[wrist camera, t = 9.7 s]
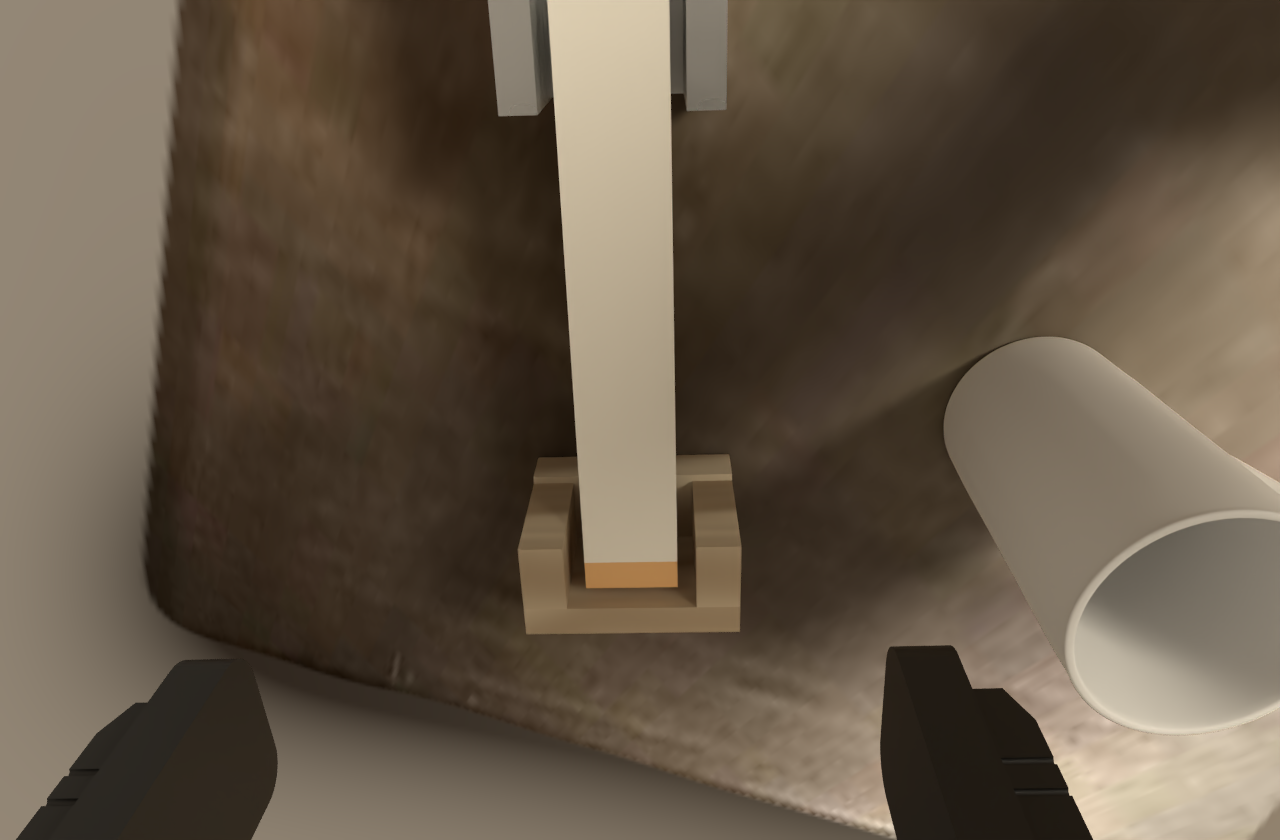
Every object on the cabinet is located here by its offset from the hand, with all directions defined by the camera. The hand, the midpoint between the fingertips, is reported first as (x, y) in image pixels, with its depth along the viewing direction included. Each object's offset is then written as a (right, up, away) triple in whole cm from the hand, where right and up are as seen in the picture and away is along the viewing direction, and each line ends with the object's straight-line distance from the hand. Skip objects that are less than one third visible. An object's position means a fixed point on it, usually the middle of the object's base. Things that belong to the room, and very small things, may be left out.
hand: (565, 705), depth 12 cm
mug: (+16, +4, +22) cm, 27 cm away
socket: (+1, +1, +23) cm, 23 cm away
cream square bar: (0, +8, +18) cm, 19 cm away
